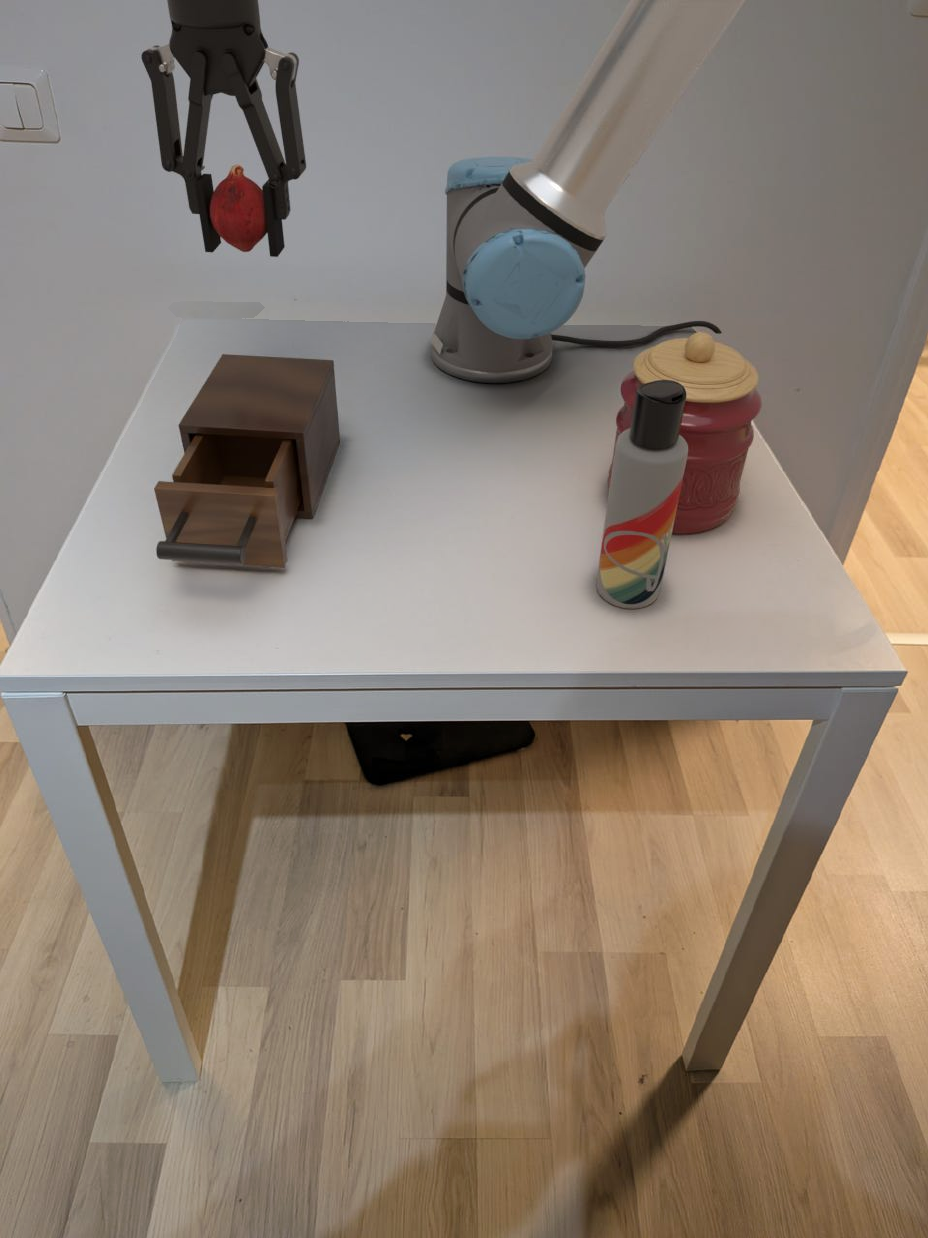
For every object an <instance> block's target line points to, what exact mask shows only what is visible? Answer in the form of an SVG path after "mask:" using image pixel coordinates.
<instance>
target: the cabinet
mask: <svg viewBox="0 0 928 1238" xmlns="http://www.w3.org/2000/svg"><path fill="white" fill-rule="evenodd" d="M336 387H337V386H336V374H335V361H334V360H333V359H322V358H321V359H319V358H301V357H284V356H283V357H282V356H265V355H249V354H248V355H247V354H246V355H245V354H228V353H223V354H221V356H220V358H219V359H218V360H217V362H216V364H215V366H214V367H213V369H212V371H211V372H210V374H209V375H208V377H207V378H206V380H205V382H204V383H203V385H202V387H200V390H199V391H198V393H197V394H196V396H195V398H194V399H193V401H192V403H191V404H190V406H189V407H188V409H187V411H186V412H185V413H184V415H183V417H182V418H181V420H180V422H179V423H178V430H179V434H180V439H181V445H182V448H183V449H182V450H183V453H184V454H185V452H186V450H187V449H188V447H189V445H190V443H191V442H192V440H193V438H194V437H195V435H196V434H212V435H229V436H246V437H263V438H280V439H296V445H297V454H298V462H299V471H300V479H301V488H302V496H303V497H302V499H301V502H300V505H299V507H298V510H297V512H296V515H295V518H294V519H309V520H310V519H311V520H313V519H314V517H315V514H316V511H317V509H318V505H319V503H320V499H321V498H322V494H323V491H324V489H325V486H326V484H327V480H328V478H329V474H330V472H331V469H332V466H333V464H334V460H335V457H336V454H337V452H338V449H339V447H340V443H341V436H340V423H339V422H340V421H339V414H338V413H339V412H338V411H339V410H338V399H337V398H338V397H337V388H336ZM184 454H183V455H184Z"/></svg>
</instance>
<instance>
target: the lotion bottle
mask: <svg viewBox="0 0 928 1238" xmlns="http://www.w3.org/2000/svg"><path fill="white" fill-rule="evenodd" d="M685 402H686V390H685V388H684V387H683V386H682V385H681V384H680V383H678V382H675V381H672V380H657V381H652V382H649V383H646V384H643V385H641V386H639V387H638V388H637V390H636V395H635V401H634V408H633V414H632V421H631V427H630V428H629V429H627V430H625V431H624V432H622V433H621V434H620V435H619V437H618V439H617V442H616V448H615V454H614V461H613V468H612V475H611V482H610V489H609V488H608V497H607V503H606V511H605V518H604V524H603V531H602V532H603V533H602V539H601V545H600V553H599V559H598V567H597V574H596V590H597V592H598V594H599V595H600V596H601V597H602V599H603V600H604V601H606V602H607V603H609V604H611V605H613V606H615V607H618V608H622V609H631V610H633V609H635V610H636V609H641V608H645V607H647V606H649V605H651V604H653V603H654V602H655V601H656V600H657V598H658V597H659V594H660V591H661V589H662V584H663V583H662V582H663V580H664V579H663V578H664V574H665V568H666V564H667V559H668V554H669V550H670V544H671V539H672V538H671V537H672V535H673V533H672V530H673V525H674V520H675V515H676V510H677V505H678V500H679V495H680V490H681V485H682V480H683V475H684V470H685V465H686V460H687V455H688V445H687V442H686V441H685V439H684V438H683V437H682V436H680V435H679V433H680V428H681V422H682V417H683V412H684V407H685Z"/></svg>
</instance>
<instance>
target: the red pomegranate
mask: <svg viewBox="0 0 928 1238" xmlns="http://www.w3.org/2000/svg"><path fill="white" fill-rule="evenodd" d="M244 171H245V169H244V168H243V167H242V165H239V164H234V165H232V166H231V168H230V170H229V171H228V175H227V176H226V177H225V178H224V179H223V180H221V181H220V182H219V183H218V184H217V186H216V187H215V189H214V193H213V195H212V198H211V203H210V218H211V221H212V225H213V227H214V228H215V230H216V231H217V233H218V234H219V235H220V238H221V240H223V241H225V243H227V244H229V245H230V246H231V247H233V248H234V249H236V250H238V251H240V252H242V253H249V252H251V251H252V250H253V249H254V248H255V246H256V245H258V244H259V243H260V242H261V241H262V240H263V239H264V238H265V236H266V235H268V234H267V225H266V216H265V207H264V198H263V189H262V187H260V186H259V184H258V183H256V182H255V181H253V180H252V179H251V178H249V177H247V176H245V174H244Z"/></svg>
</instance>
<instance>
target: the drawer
mask: <svg viewBox="0 0 928 1238" xmlns="http://www.w3.org/2000/svg"><path fill="white" fill-rule="evenodd" d="M171 477H172V481H164V480H158V481H157V482H156V484H155V486H154V488H153V489H154V494H155V499H156V502H157V506H158V509H159V510H158V511H159V515H160V518H161V519H160V520H161V523H162V528H163V532H164V535H165V540H160V541H158V542H157V544H156V548H155V549H156V557H157V559H158V560H163V561H164V560H166V561H172V562H183V563H197V564H212V565H229V566H242V567H257V568H258V567H259V568H274V569H285V568H286V565H287V563H288V554H287V553H288V552H287V547H286V546H287V545H286V541H287V539H288V536H289V534H290V531H291V528H292V525H293V523H294V520H295V519H296V518H295V515H296V512H297V510H298V507H299V505H300V502H301V499H302V497H303V496H302V488H301V479H300V471H299V462H298V454H297V445H296V439H280V438H263V437H246V436H229V435H212V434H196V435H195V437H194V438H193V440H192V442H191V443H190V445H189V447H188V449H187V450H186V452H185V454H183V455H182V457H181V458H180V461H179V462H178V464H177V466H176V468H175V469H174V471H173V472H172V474H171Z"/></svg>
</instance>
